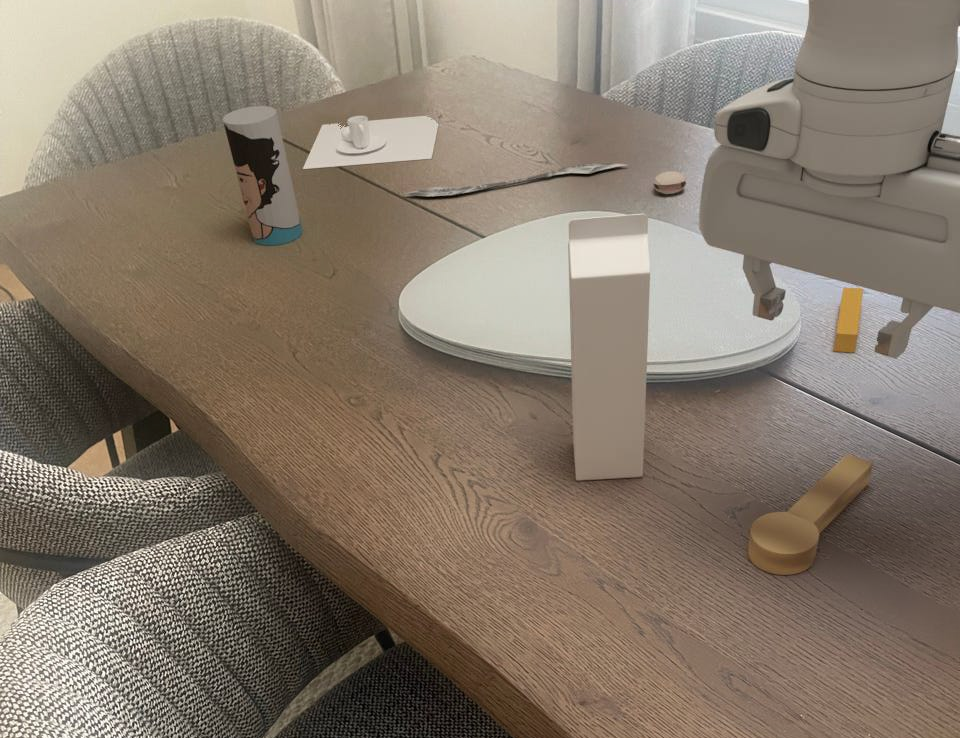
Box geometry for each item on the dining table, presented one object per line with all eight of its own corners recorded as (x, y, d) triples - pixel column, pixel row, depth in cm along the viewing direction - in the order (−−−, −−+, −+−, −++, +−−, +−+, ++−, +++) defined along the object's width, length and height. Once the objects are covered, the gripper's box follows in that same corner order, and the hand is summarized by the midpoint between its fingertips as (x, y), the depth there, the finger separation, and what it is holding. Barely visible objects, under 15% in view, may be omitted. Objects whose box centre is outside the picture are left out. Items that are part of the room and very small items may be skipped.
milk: (573, 444, 91) (565, 203, 75) (638, 439, 90) (644, 196, 75) (575, 482, 86) (568, 235, 71) (644, 478, 86) (652, 229, 70)
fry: (853, 353, 97) (857, 334, 96) (833, 351, 98) (836, 333, 96) (859, 306, 104) (863, 288, 102) (840, 304, 104) (843, 287, 103)
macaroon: (658, 199, 128) (659, 180, 126) (646, 186, 132) (647, 167, 130) (689, 194, 128) (690, 174, 127) (676, 181, 132) (677, 161, 130)
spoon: (827, 468, 84) (832, 447, 83) (884, 489, 82) (889, 468, 80) (734, 557, 77) (737, 536, 76) (793, 584, 75) (797, 562, 73)
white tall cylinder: (270, 222, 135) (242, 104, 124) (311, 226, 132) (286, 107, 122) (243, 243, 130) (212, 123, 120) (285, 247, 128) (257, 125, 117)
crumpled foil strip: (403, 194, 137) (408, 207, 133) (402, 190, 136) (407, 202, 133) (620, 156, 140) (631, 168, 136) (620, 152, 139) (631, 164, 136)
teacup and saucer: (341, 138, 156) (336, 111, 153) (389, 134, 156) (385, 106, 153) (333, 158, 150) (327, 130, 147) (383, 154, 149) (379, 125, 147)
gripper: (1066, 132, 54) (994, 357, 64) (748, 81, 65) (728, 280, 75) (1017, 170, 51) (950, 399, 61) (693, 110, 62) (680, 313, 72)
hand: (826, 333), depth 68 cm, fingers open, 8 cm apart
